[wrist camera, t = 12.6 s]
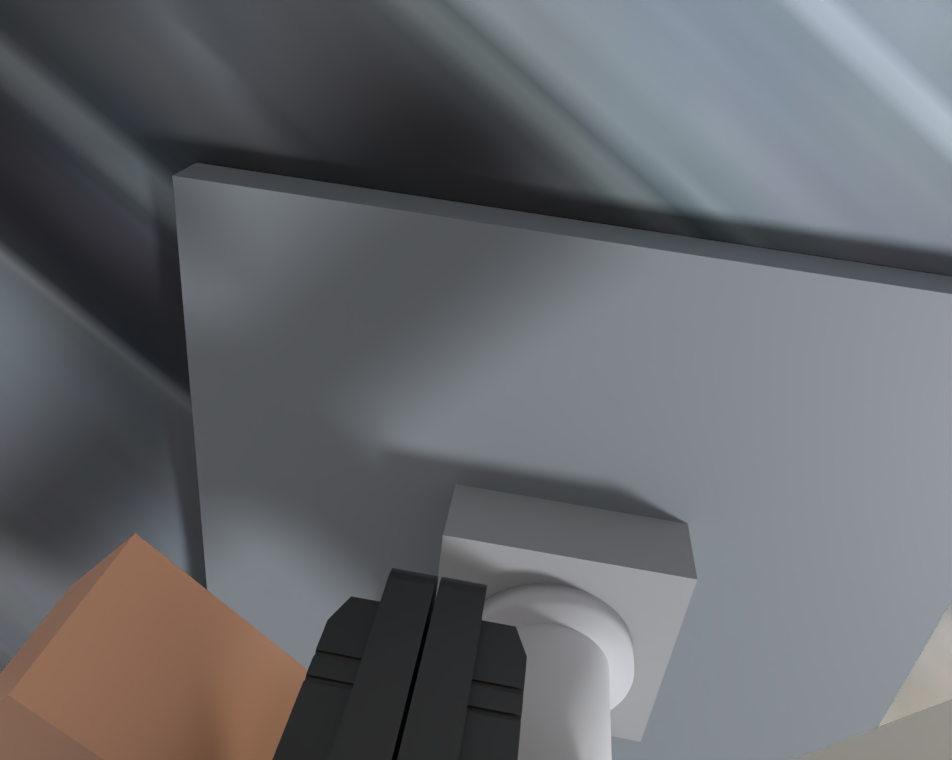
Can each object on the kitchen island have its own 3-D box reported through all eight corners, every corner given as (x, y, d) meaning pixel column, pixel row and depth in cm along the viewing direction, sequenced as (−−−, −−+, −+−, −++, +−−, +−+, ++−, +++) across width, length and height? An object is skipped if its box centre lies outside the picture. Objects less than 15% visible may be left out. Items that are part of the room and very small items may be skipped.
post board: (792, 823, 27) (872, 1167, 19) (234, 716, 28) (101, 1002, 20) (1084, 296, 17) (1491, 579, 9) (196, 162, 18) (-92, 317, 10)
